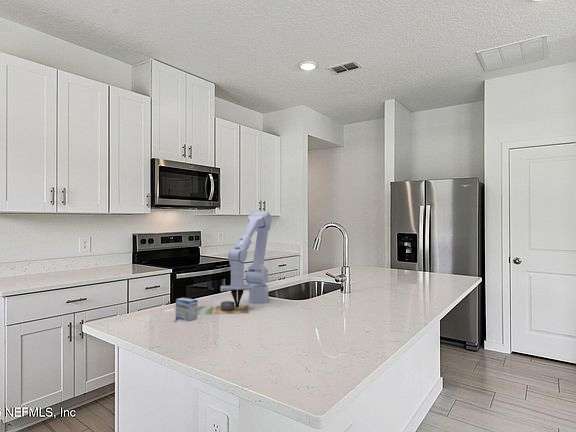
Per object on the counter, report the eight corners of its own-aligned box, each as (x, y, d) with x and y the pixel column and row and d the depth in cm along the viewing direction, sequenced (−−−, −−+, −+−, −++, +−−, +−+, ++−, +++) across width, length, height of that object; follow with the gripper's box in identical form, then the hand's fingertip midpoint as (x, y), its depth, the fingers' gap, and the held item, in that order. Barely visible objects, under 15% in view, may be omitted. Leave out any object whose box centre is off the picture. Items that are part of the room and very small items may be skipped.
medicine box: (175, 320, 152) (175, 299, 152) (183, 318, 156) (183, 297, 156) (190, 323, 148) (190, 301, 148) (197, 320, 152) (197, 299, 152)
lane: (248, 307, 174) (248, 305, 174) (248, 315, 160) (248, 313, 160) (186, 308, 171) (186, 306, 171) (180, 317, 157) (180, 314, 157)
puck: (234, 307, 169) (234, 300, 169) (234, 311, 163) (234, 304, 163) (221, 307, 169) (221, 301, 169) (220, 311, 163) (220, 304, 163)
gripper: (220, 277, 161) (220, 309, 162) (254, 277, 163) (254, 308, 163) (221, 275, 168) (220, 305, 169) (253, 274, 170) (253, 304, 170)
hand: (237, 306), depth 166 cm, fingers closed
